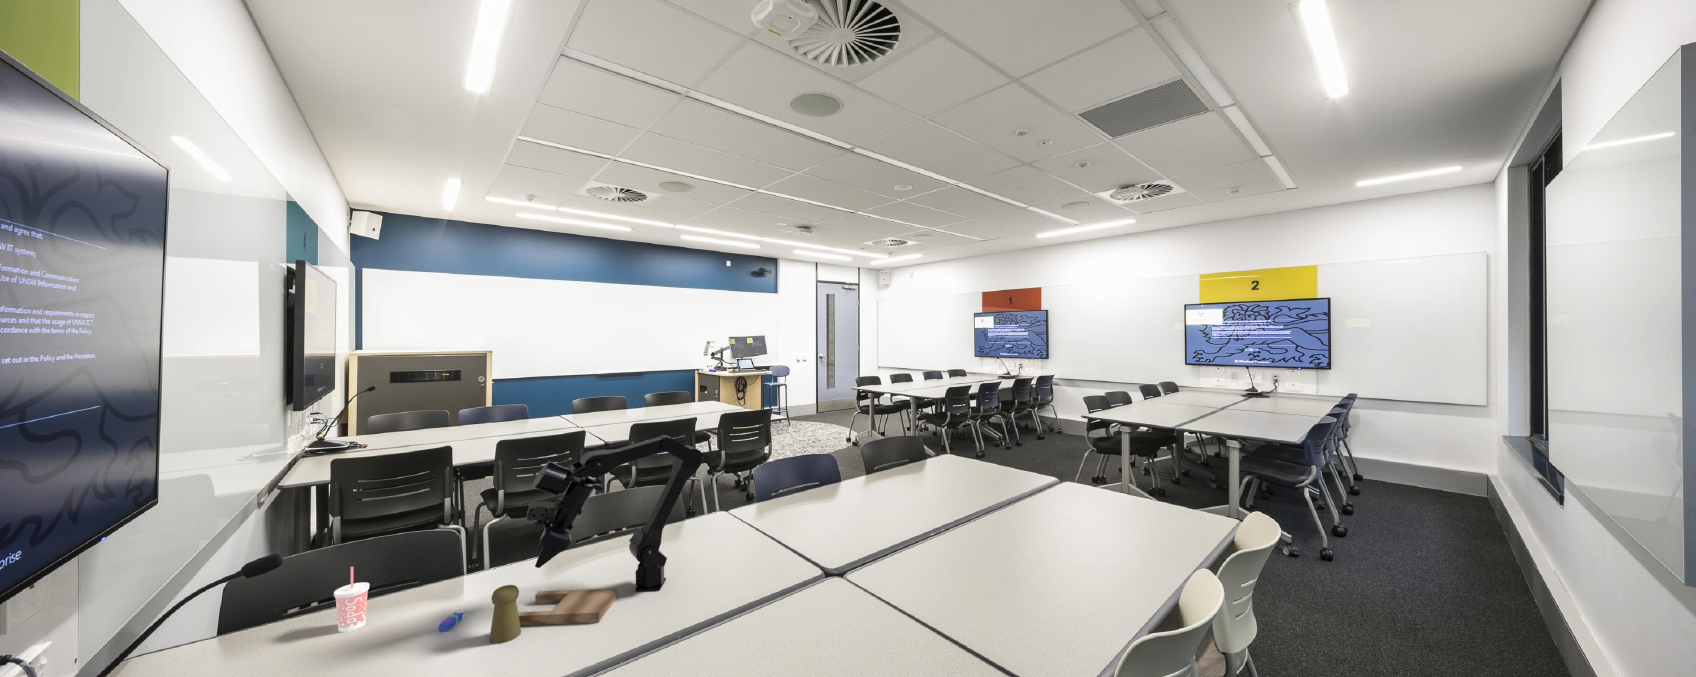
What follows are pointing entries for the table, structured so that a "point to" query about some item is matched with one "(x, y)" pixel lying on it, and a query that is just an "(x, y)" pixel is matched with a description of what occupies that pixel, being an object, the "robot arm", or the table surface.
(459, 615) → the eraser
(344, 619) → the beverage cup
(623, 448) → the robot arm
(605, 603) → the notched board
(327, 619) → the table surface
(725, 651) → the table surface
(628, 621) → the table surface
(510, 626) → the cork
